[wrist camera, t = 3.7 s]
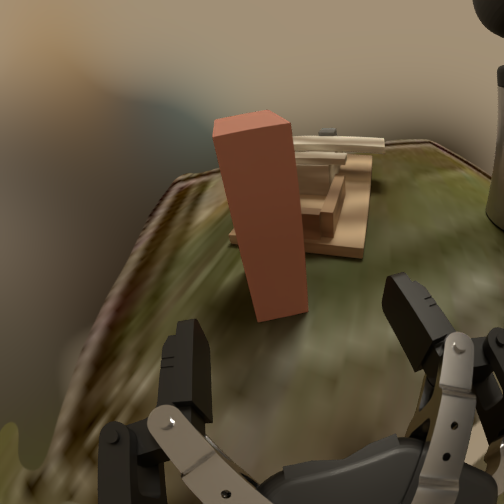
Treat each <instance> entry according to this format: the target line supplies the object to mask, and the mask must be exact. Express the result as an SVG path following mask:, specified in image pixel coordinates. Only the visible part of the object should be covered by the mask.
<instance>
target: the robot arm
mask: <svg viewBox="0 0 504 504" xmlns="http://www.w3.org/2000/svg"><path fill="white" fill-rule="evenodd" d="M473 5H474V9H475V11H476V14H477V16H478V17H479V19H480V21H481V22H482V24H483V25H484V26H485V27H486V28H487V29H488V30H490V31H491V32H493V33H494V34H496V35H498V36H500V37H502V38H504V0H473ZM497 81H498V86H499V87H498V127H497V141H496V151H495V159H494V167H493V174H492V180H491V185H490V190H489V196H488V201H487V205H486V213H487V215H488V217H489V218H490V219H491V220H492V221H493V222H494V223H495V224H496V225H497V226H498V227H500V228H501V229H503V230H504V65H502V66H500V67H499V68H498V70H497ZM382 309H383V312H384V314H385V316H386V318H387V320H388V321H389V323H390V325H391V327H392V329H393V331H394V332H395V334H396V336H397V338H398V340H399V342H400V344H401V346H402V348H403V350H404V352H405V353H406V355H407V357H408V359H409V361H410V363H411V365H412V367H413V369H414V372H417V371H419V370H422V369H424V371H425V375H424V378H423V382H422V387H421V391H420V395H419V399H418V403H417V407H416V411H415V414H414V416H413V418H412V420H411V422H410V424H409V426H408V429H407V431H406V434H405V437H399V438H397V435H396V434H393V435H391V436H389V437H386V438H383V439H381V440H378V441H376V442H373V443H370V444H369V445H367V446H365V447H364V448H362V449H361V450H359V451H357V452H356V453H354V454H352V455H351V456H349V457H347V458H345V459H341V460H320V461H308V462H304V463H299V464H294V465H289V466H283V471H280V472H278V473H276V474H274V475H272V476H271V477H269V478H268V479H267V480H265V481H264V482H263V483H262V484H261V485H260V484H259V483H258V482H257V481H256V480H254V479H253V478H252V477H251V476H250V475H249V474H247V473H246V472H245V471H244V470H243V469H242V468H240V467H239V466H238V465H237V464H236V463H234V462H233V461H232V460H231V459H230V458H229V457H228V456H227V455H226V454H225V453H224V452H223V451H222V450H221V449H220V448H219V447H218V446H217V445H216V444H215V443H214V442H213V441H212V440H211V439H210V438H209V437H208V436H207V435H206V434H205V423H213V416H212V394H211V363H210V348H209V344H208V341H207V338H206V336H205V334H204V332H203V330H202V328H201V326H200V324H199V322H198V320H197V319H190V320H184V321H178V323H177V329H176V335H171V336H168V338H167V340H166V342H165V343H164V345H163V349H162V360H161V369H160V378H159V389H158V401H157V406H156V408H155V409H154V410H153V411H152V412H151V413H150V415H149V417H147V418H146V419H144V420H141V421H138V422H135V423H132V424H129V425H126V426H125V425H124V424H122V423H120V422H116V421H114V422H109V423H107V424H106V425H105V426H104V427H103V428H102V430H101V432H100V436H99V451H98V504H167V496H166V485H165V473H164V462H166V461H169V460H171V461H172V462H173V463H174V465H175V466H176V467H177V468H178V469H179V471H180V472H181V474H182V475H181V477H182V479H183V481H184V482H185V484H186V485H187V486H188V487H189V488H190V490H191V491H192V492H193V493H194V494H195V495H196V496H197V497H198V498H199V499H200V500H201V501H202V502H203V503H204V504H496V502H497V498H498V496H499V495H500V494H501V493H503V492H504V329H502V328H498V327H497V328H493V329H492V330H491V331H490V332H489V334H488V335H487V337H479V338H470V337H469V336H468V335H466V334H465V333H462V332H456V331H455V329H454V328H453V326H452V325H451V323H450V322H449V320H448V319H447V317H446V316H445V314H444V313H443V312H442V310H441V309H440V307H439V306H438V305H437V304H436V302H435V300H434V299H433V298H432V297H431V295H430V293H429V292H428V290H427V289H426V288H425V287H424V286H423V285H421V284H420V283H418V282H417V281H413V282H412V281H411V280H410V278H409V277H408V276H407V274H406V273H404V272H401V273H397V274H394V275H390V276H388V277H387V278H386V283H385V288H384V293H383V298H382ZM493 371H494V372H495V374H496V377H497V379H498V381H499V383H500V385H501V387H502V390H503V395H502V393H501V390H500V388H499V386H498V384H497V382H496V379H495V377H494V375H493V373H492V372H493ZM475 408H476V410H477V413H478V415H479V418H480V421H481V424H482V426H483V429H484V432H485V435H486V438H487V441H488V444H489V447H488V450H487V453H486V454H485V456H484V462H485V463H487V467H486V471H485V472H484V471H482V470H480V469H478V468H476V467H473V466H471V465H469V464H467V463H465V462H464V460H465V456H466V452H467V449H468V444H469V440H470V435H471V431H472V425H473V420H474V414H475Z"/></svg>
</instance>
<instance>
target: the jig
mask: <svg viewBox="0 0 504 504" xmlns="http://www.w3.org/2000/svg"><path fill="white" fill-rule="evenodd" d="M293 143H294V151H307V152H295V159H296V167H297V176H298V185H299V194H300V204H301V214H302V225H303V237H304V250H305V252H308V253H317V254H326V255H334V256H343V257H352V258H360V259H362V258H363V251H364V244H365V237H366V229H367V220H368V211H369V200H370V189H371V174H372V156H368V155H351V154H347V153H343V152H363V153H378V154H385V145H384V138H369V137H348V136H337V134H336V129H332V128H331V129H329V128H328V129H324V128H322V129H321V130H320V131H319V136H293ZM229 238H230V242H231V244H237V245H238V242H237V238H236V233H235V229H233V230H232V231H231V233H230V234H229Z"/></svg>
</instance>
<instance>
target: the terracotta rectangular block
mask: <svg viewBox="0 0 504 504" xmlns="http://www.w3.org/2000/svg"><path fill="white" fill-rule="evenodd" d="M213 141H214V146H215V150H216V154H217V158H218V163H219V167H220V171H221V175H222V180H223V184H224V188H225V192H226V196H227V201H228V205H229V209H230V213H231V217H232V221H233V225H234V229H235V233H236V238H237V242H238V246H239V250H240V254H241V258H242V262H243V266H244V270H245V274H246V278H247V282H248V286H249V290H250V294H251V298H252V302H253V306H254V310H255V314H256V317H257V321H258V322H263V321H268V320H273V319H277V318H282V317H287V316H291V315H296V314H300V313H304V312H308V296H307V279H306V263H305V250H304V237H303V225H302V214H301V204H300V194H299V185H298V176H297V167H296V159H295V151H294V143H293V136H292V129H291V123H290V122H288V121H287V120H285V119H283V118H282V117H280V116H278V115H277V114H275V113H273V112H271V111H270V110H264V111H258V112H252V113H246V114H241V115H235V116H230V117H226V118H221V119H217V120H215V123H214V130H213Z"/></svg>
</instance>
